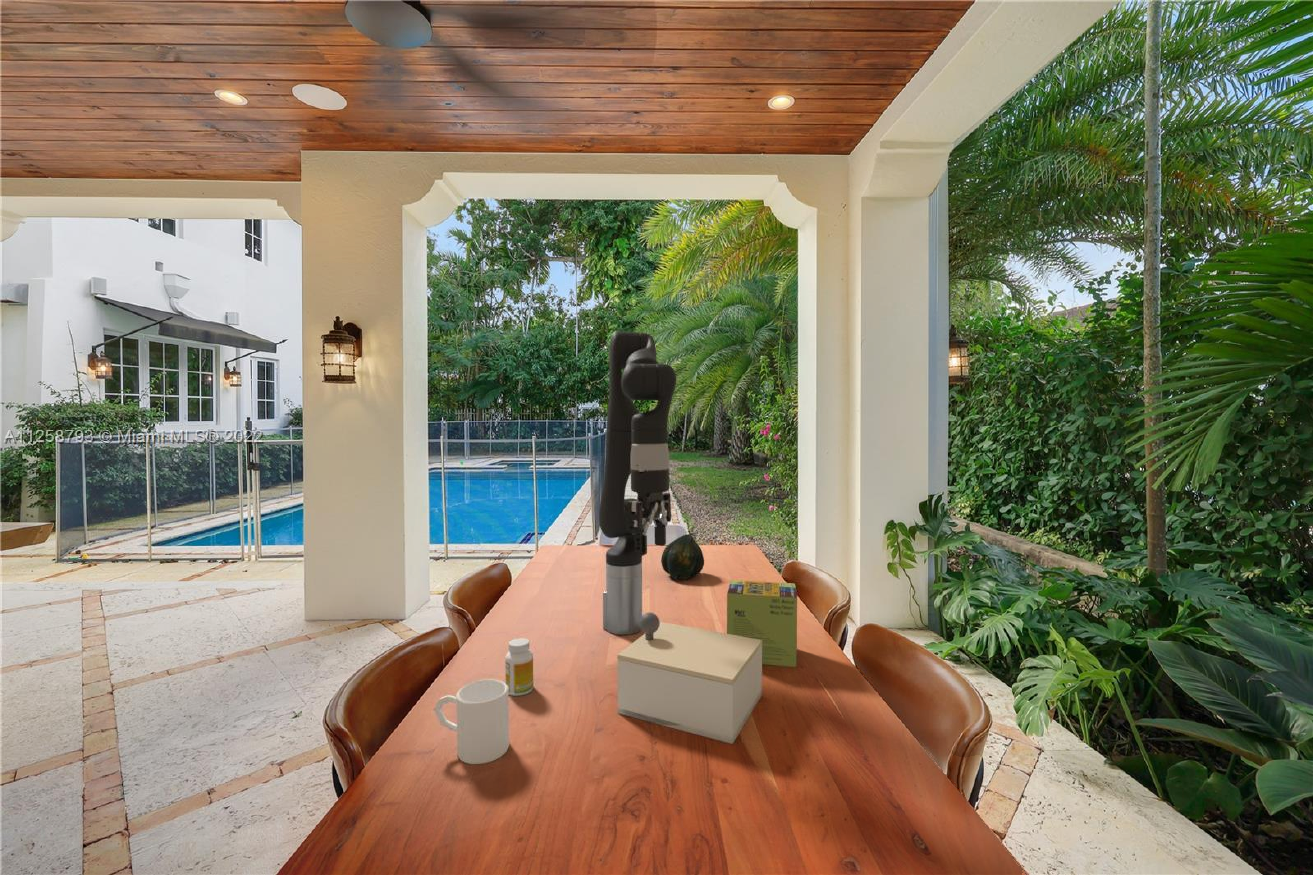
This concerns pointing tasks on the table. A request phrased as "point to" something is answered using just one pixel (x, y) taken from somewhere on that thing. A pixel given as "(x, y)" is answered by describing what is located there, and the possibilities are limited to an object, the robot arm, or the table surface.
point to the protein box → (765, 618)
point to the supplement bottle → (519, 667)
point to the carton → (690, 698)
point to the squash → (682, 558)
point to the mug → (479, 720)
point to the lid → (690, 650)
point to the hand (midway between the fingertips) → (651, 549)
